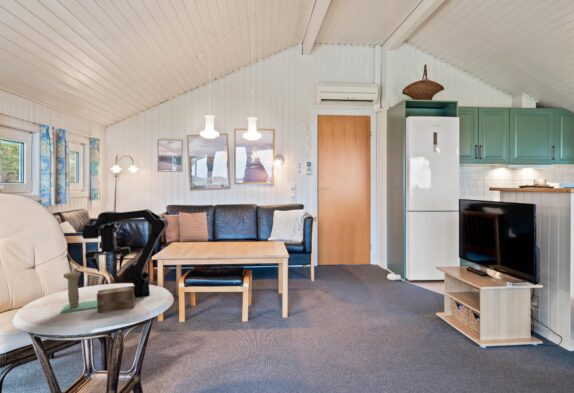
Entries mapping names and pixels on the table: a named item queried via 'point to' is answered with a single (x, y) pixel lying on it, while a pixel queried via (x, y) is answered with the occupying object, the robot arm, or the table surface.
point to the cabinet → (115, 299)
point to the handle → (73, 288)
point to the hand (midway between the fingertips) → (109, 270)
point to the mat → (80, 306)
